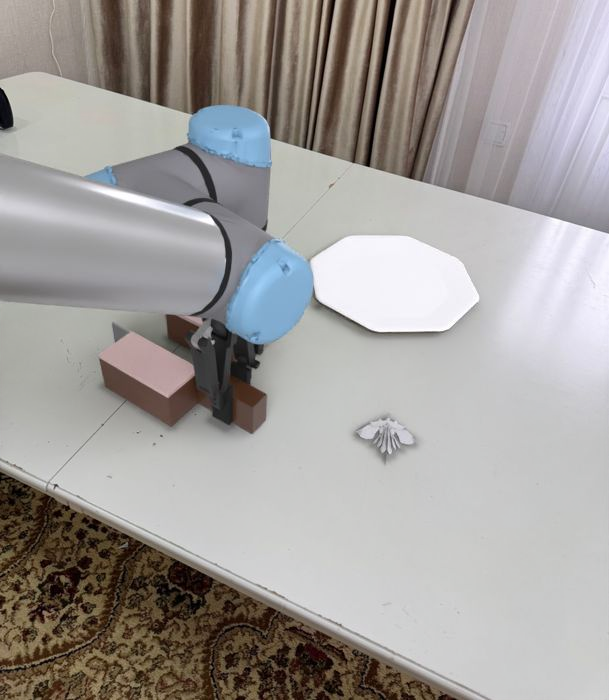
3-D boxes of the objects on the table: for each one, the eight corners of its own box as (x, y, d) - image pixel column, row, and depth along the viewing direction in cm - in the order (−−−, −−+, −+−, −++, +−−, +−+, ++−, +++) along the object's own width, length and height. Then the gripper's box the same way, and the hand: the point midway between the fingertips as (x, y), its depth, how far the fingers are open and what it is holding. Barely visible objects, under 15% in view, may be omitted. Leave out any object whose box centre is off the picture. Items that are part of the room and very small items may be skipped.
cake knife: (266, 420, 81) (267, 393, 78) (252, 434, 79) (253, 407, 76) (123, 340, 90) (119, 313, 87) (108, 351, 88) (103, 324, 85)
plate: (303, 241, 115) (304, 234, 114) (447, 242, 118) (449, 235, 117) (321, 339, 95) (322, 331, 94) (494, 336, 98) (496, 329, 97)
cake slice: (171, 427, 80) (167, 395, 76) (104, 386, 84) (98, 354, 80) (201, 400, 84) (199, 368, 80) (136, 362, 88) (131, 330, 84)
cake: (232, 371, 88) (232, 339, 84) (168, 338, 93) (164, 306, 89) (272, 334, 95) (273, 303, 91) (210, 305, 99) (209, 274, 95)
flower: (415, 475, 78) (419, 465, 76) (352, 466, 79) (354, 456, 77) (416, 425, 83) (420, 414, 81) (357, 417, 84) (359, 405, 81)
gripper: (211, 310, 59) (215, 463, 75) (301, 240, 70) (289, 387, 85) (151, 282, 62) (168, 435, 77) (247, 218, 72) (244, 365, 88)
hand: (231, 410), depth 81 cm, fingers closed on cake knife, 3 cm apart
